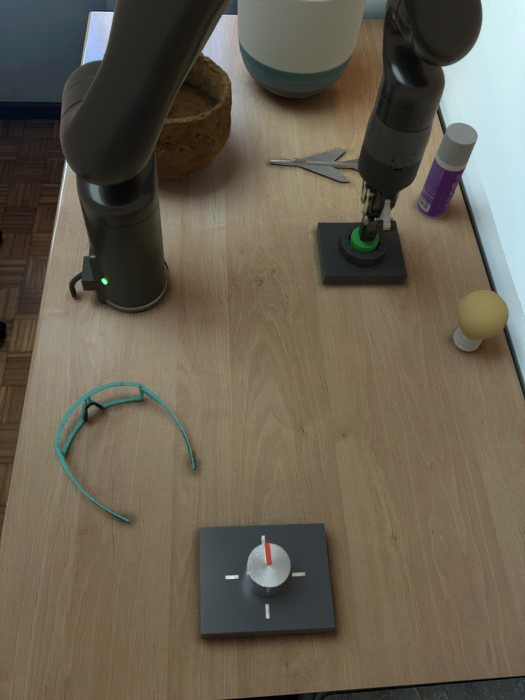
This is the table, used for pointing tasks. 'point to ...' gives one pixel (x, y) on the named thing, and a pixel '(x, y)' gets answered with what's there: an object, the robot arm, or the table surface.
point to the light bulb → (479, 319)
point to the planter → (298, 42)
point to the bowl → (196, 122)
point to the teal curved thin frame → (90, 402)
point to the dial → (267, 569)
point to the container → (446, 170)
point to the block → (358, 257)
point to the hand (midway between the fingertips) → (366, 237)
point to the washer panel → (250, 609)
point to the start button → (363, 243)
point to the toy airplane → (322, 163)
